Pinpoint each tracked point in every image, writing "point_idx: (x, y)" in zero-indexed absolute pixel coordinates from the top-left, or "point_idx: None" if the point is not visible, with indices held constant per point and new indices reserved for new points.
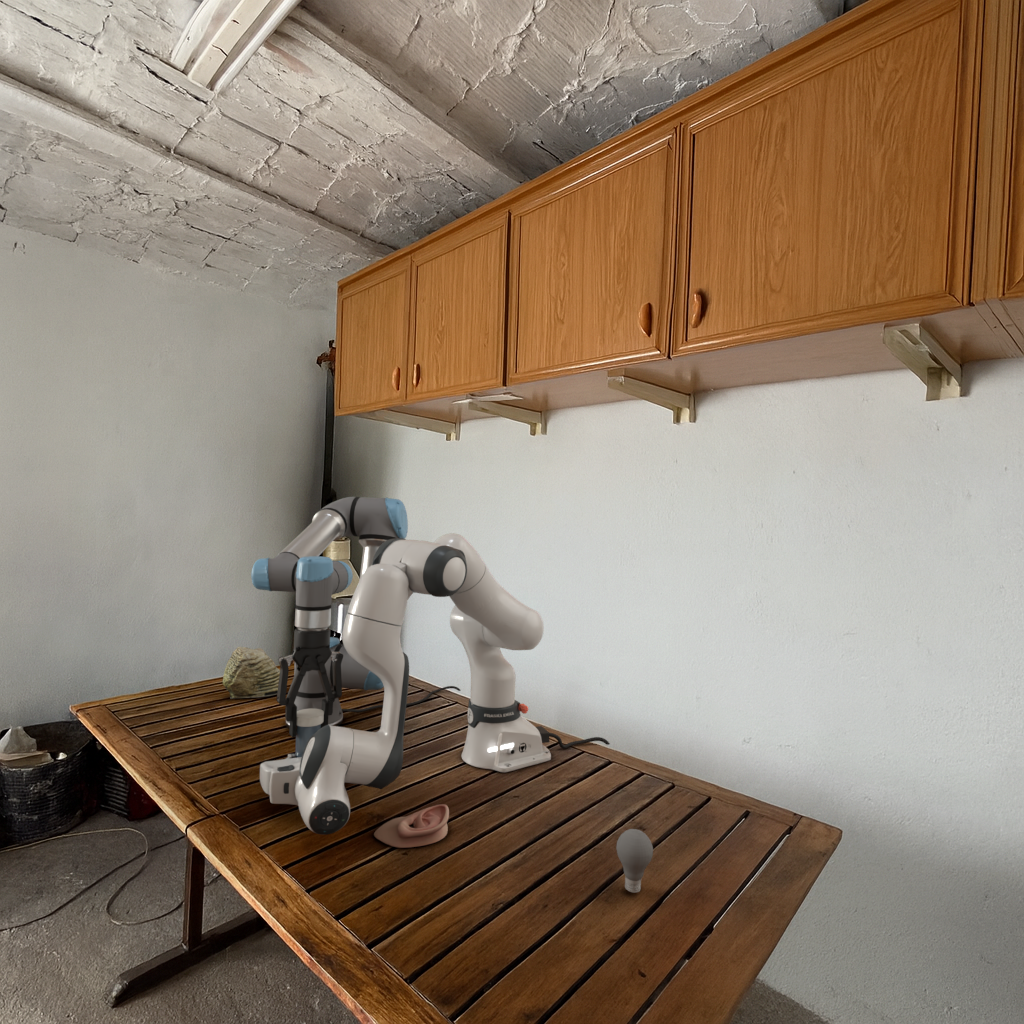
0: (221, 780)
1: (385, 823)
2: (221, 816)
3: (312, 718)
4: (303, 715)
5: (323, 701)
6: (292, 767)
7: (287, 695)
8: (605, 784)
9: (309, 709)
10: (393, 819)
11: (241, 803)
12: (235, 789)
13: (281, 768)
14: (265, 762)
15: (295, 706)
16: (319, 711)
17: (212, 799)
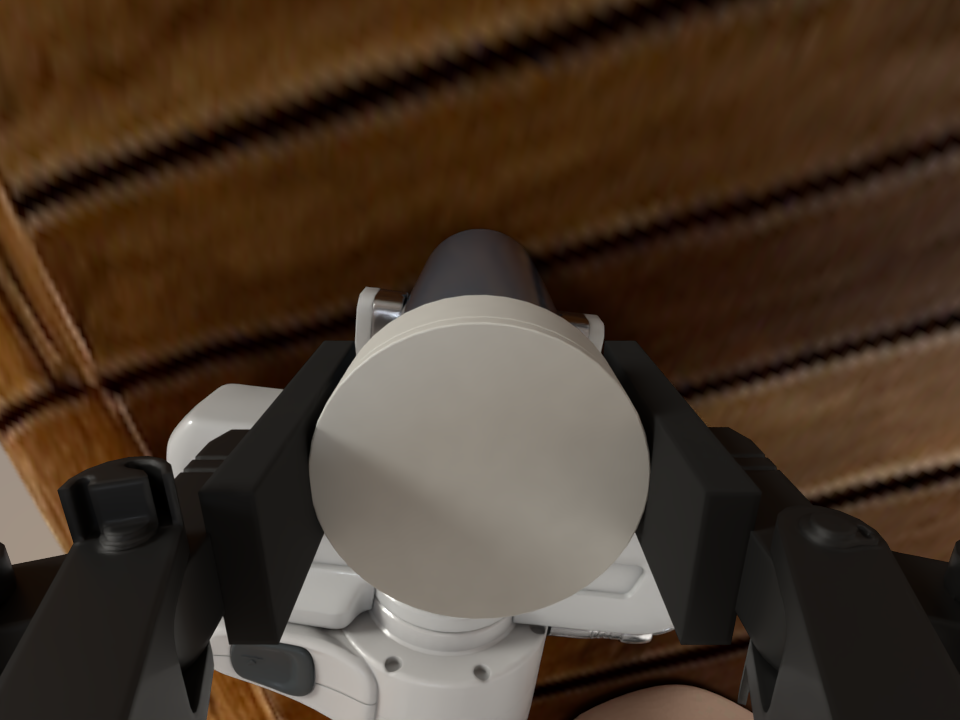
0: (70, 20)
1: (620, 715)
2: (109, 412)
3: (472, 611)
4: (398, 532)
5: (691, 559)
6: (304, 682)
7: (39, 625)
8: None
9: (517, 370)
10: (652, 713)
11: (183, 339)
12: (151, 180)
13: (250, 657)
14: (191, 451)
15: (259, 626)
16: (603, 484)
17: (53, 242)
